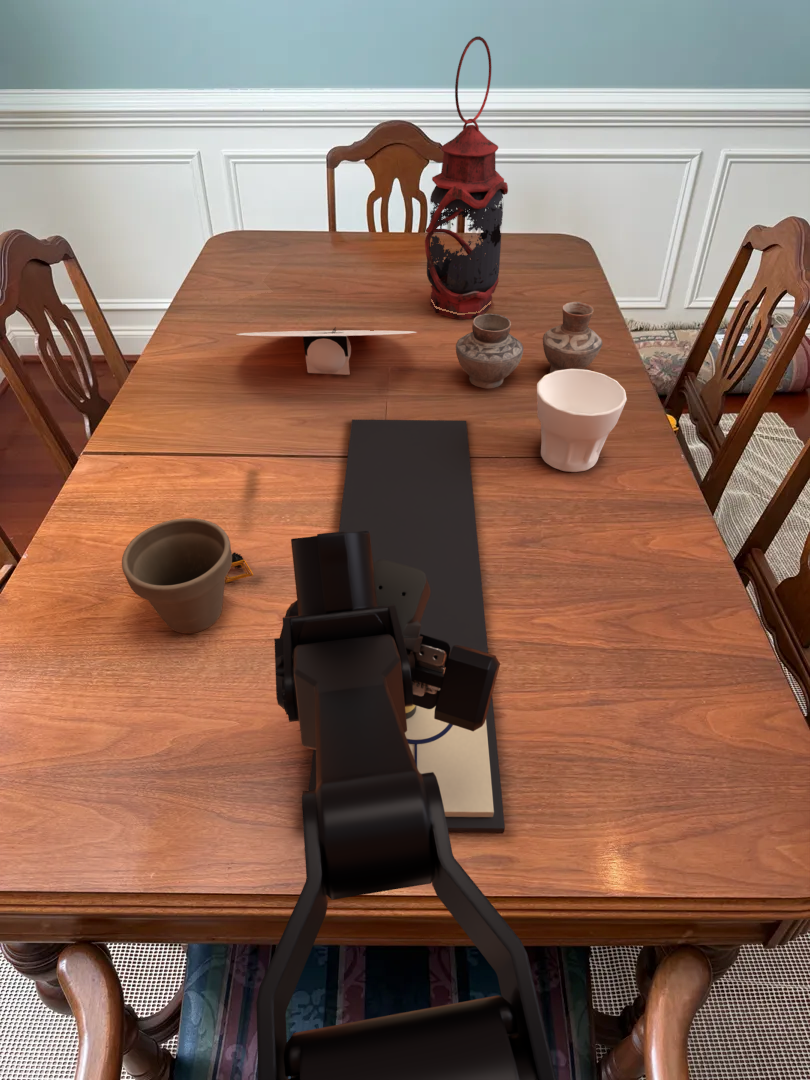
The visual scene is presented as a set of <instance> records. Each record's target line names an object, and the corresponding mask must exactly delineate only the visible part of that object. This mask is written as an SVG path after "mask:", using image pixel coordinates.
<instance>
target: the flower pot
mask: <svg viewBox="0 0 810 1080" xmlns="http://www.w3.org/2000/svg"><path fill="white" fill-rule="evenodd" d="M232 554H233V552H232V548H231V541H230V537H229V536H228V534H227V532H226V530H224V529H223V528H222V527H221V526H219V525H218V524H216V523H215V522H212V521H209V520H206V519H202V518H194V517H193V518H192V517H184V518H183V517H182V518H175V519H169V520H166V521H163V522H159V523H157V524H153V525H152V526H149V527H148V528H146V529H145V530H143V531H141V532H140V533H138V534H137V535H136V536H135V537H134V538H132V540H131V541H130V542H129V543H128V544H127V546H126V547H125V549H124V551H123V554H122V556H121V569H122V573H123V574H124V576H125V579H126V581H127V583H128V586H129V587H130V589H131V590H132V591H133V593H134V594H135V595H136V596H138V597H140V598H141V599H143V600H146V601H148V602H149V604H150V605H151V607H152V608H153V610H154V611H155V612H156V614H157V615H158V616H159V617H160V619H161V620H162V621H163V622H164V623H165V624H166V625H167V626H168V627H169V628H170V629H171V630H172V631H174V632H177V633H180V634H195V633H199V632H202V631H205V630H206V629H208V628H210V627H211V626H213V625H214V624H215V623H216V622H217V621H218V620H219V618H220V617H221V614H222V610H223V605H224V595H225V584H226V583H225V580H226V578H225V577H227V575H228V574H229V572H230V570H231V568H232V567H231V564H232ZM230 567H231V568H230Z"/></svg>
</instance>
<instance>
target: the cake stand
mask: <svg viewBox="0 0 810 1080" xmlns="http://www.w3.org/2000/svg"><path fill="white" fill-rule="evenodd" d="M336 329H337V327H336V326H334V328H332V330H289V331H288V330H287V331H286V330H285V331H283V330H281V331H255V332H241V333H236V336H249V337H250V336H251V337H252V336H253V337H302V341H303V347H304V348H303V349H304V354H305V362H306V363H305V364H306V369H307V373H308V374H322V375H323V374H324V375H325V374H326V375H343V376H344V375H346V376H347V375H348V376H349V375H351V373H350V372H351V371H350V358H351V354H352V345H351V341H350V339H349V336H353V337H354V336H387V335H406V334H417V333H418V331H413V330H411V331H410V330H383V329H382V330H374V331H370V330H369V329H368V330H367V329H366V330H364V329H362V330H361V329H360V330H359V329H352V330H351V329H348V330H347V329H345V330H343V329H341V330H338V329H337V330H336Z"/></svg>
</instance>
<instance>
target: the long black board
mask: <svg viewBox="0 0 810 1080" xmlns="http://www.w3.org/2000/svg"><path fill="white" fill-rule="evenodd" d="M349 434H350V435H349V441H348V449H347V459H346V467H345V476H344V482H343V483H344V484H343V493H342V500H341V501H342V503H341V511H340V518H339V527H338V532H341V531H345V533H351V532H361V531H369V532H370V541H371V550H372V559H373V561H374V562H375V561H377V560H381V559H384V560H388V561H392V562H396V563H399V564H403V565H407V566H411V567H414V568H418V569H420V570H422V571H423V572H424V573H425V575H426V578H427V581H428V584H429V587H430V592H431V593H430V597H429V599H428V601H427V604H426V607H425V610H424V613H423V616H422V619H421V622H420V624H421V628H420V632H419V636H420V634H423V635H426V636H429V637H433V638H436V639H440V640H443V641H446V642H447V643H448V644H449V645H450V652H451V650H452V648H453V646H454V645H459V646H464V647H468V648H472V649H475V650H478V651H482V652H485V653H489V646H488V636H487V624H486V615H485V603H484V594H483V592H484V591H483V583H482V573H481V561H480V552H479V542H478V540H479V539H478V529H477V519H476V509H475V498H474V488H473V487H474V486H473V477H472V468H471V455H470V447H469V436H468V435H469V434H468V423H467V420H453V419H452V420H450V419H449V420H447V419H444V420H442V419H438V420H437V419H351V423H350V431H349ZM435 707H436V706H435ZM435 707H434V708H433V709H425V708H422V707H419V706H416V712H415V714H414V715H413V716H412V717H410V718H408V719H406V722H407V731H406V733H405V736H406V738H407V741H408V744H409V747H410V749H411V752H412V755H413V758H414V760H415V763H416V766H417V769H418V771H419V772H420V773H421V774H423V773H430V772H433V773H434V774H435V776H436V778H437V781H438V785H439V788H440V793H441V797H442V802H443V806H444V812H445V817H446V822H447V827H448V833H449V832H450V833H451V832H453V833H462V832H463V833H504V832H505V830H506V825H505V814H504V803H503V794H502V793H503V791H502V783H501V773H500V762H499V751H498V741H497V732H496V731H497V730H496V719H495V708H494V700H493V696H492V697H491V701H490V705H489V708H488V712H487V716H486V720H485V723H484V724H483V726H482V727H480V728H478V729H477V730H475V731H470V730H467V729H464V728H461V727H458V726H455V725H452V724H449V723H446V722H443V721H440V720H436V719H434V714H435ZM310 766H311V767H310V775H309V782H308V784H309V785H308V790H313V789H316V750H313V749H312V758H311V765H310Z"/></svg>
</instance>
